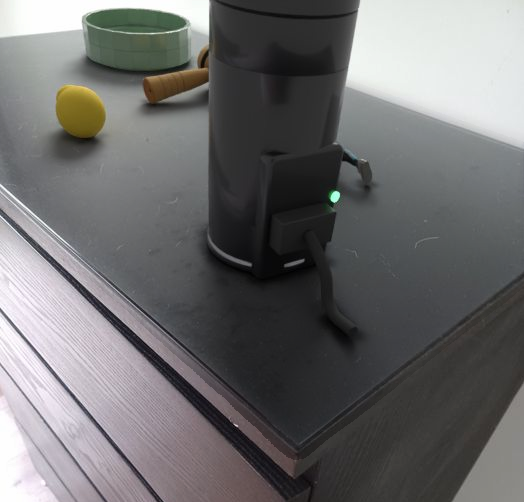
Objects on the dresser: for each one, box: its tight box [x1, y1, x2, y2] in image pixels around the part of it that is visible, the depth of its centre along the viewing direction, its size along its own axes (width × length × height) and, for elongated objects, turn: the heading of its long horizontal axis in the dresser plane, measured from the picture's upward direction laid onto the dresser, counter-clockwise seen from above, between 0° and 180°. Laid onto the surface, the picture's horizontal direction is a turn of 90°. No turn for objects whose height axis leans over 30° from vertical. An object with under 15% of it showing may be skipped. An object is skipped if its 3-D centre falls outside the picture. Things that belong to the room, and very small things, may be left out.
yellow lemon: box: [55, 84, 107, 139], centre depth 57 cm, size 7×5×7 cm
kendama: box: [142, 43, 209, 105], centre depth 68 cm, size 8×6×18 cm
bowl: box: [81, 7, 192, 72], centre depth 78 cm, size 15×15×5 cm
